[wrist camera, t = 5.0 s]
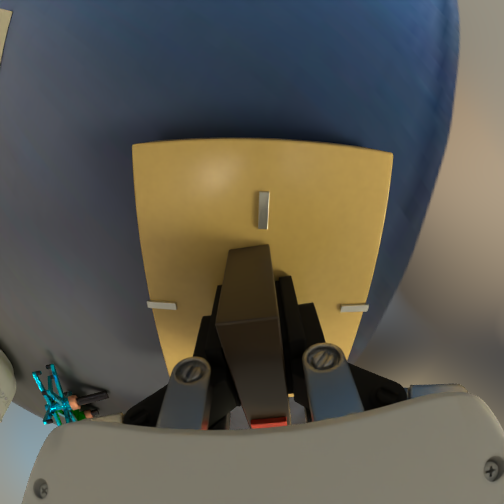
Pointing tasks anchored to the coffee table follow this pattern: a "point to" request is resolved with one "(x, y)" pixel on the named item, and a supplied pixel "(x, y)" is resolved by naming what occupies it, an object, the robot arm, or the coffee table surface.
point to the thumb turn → (253, 336)
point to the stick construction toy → (65, 401)
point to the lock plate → (258, 226)
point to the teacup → (6, 384)
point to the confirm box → (4, 27)
